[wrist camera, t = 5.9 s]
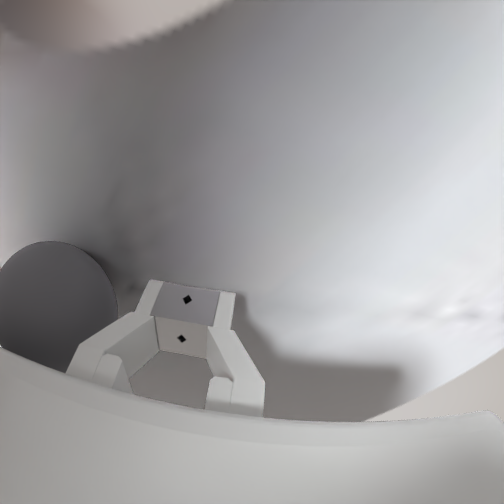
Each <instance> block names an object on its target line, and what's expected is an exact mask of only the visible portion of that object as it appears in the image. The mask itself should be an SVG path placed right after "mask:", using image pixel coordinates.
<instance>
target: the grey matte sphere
mask: <svg viewBox="0 0 504 504" xmlns="http://www.w3.org/2000/svg"><path fill="white" fill-rule="evenodd" d="M116 320H118V309H117V300H116V297H115V293H114V289H113V287H112V285H111V282H110V280H109V278H108V276H107V275H106V273H105V272H104V270H103V269H102V267H101V266H100V265H99V264H98V263H97V262H96V261H95V260H94V259H93V258H92V257H91V256H89V255H88V254H87V253H85V252H84V251H83V250H81V249H79V248H77V247H75V246H72V245H70V244H67V243H63V242H56V241H45V242H39V243H34V244H31V245H29V246H27V247H24V248H23V249H21V250H19V251H18V252H17V253H15V254H14V255H13V256H12V257H10V259H9V260H8V261H7V262H6V263H5V264H4V266H3V267H2V269H1V270H0V345H1V347H2V348H4V349H6V350H8V351H10V352H13V353H15V354H17V355H19V356H22V357H24V358H26V359H29V360H31V361H34V362H36V363H39V364H41V365H44V366H46V367H49V368H52V369H54V370H57V371H60V372H63V373H66V371H67V369H68V367H69V365H70V363H71V361H72V358H73V356H74V354H75V352H76V350H77V348H78V346H79V344H81V343H82V342H84V341H85V340H87V339H88V338H90V337H91V336H93V335H94V334H96V333H98V332H99V331H101V330H102V329H104V328H105V327H107V326H108V325H110V324H112V323H113V322H115V321H116Z"/></svg>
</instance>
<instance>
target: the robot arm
mask: <svg viewBox="0 0 504 504" xmlns="http://www.w3.org/2000/svg"><path fill="white" fill-rule="evenodd" d="M235 296H236V293H233V292H226V291H219V290H212V289H205V288H199V287H191V286H186V285H181V284H176V283H171V282H166V281H165V282H164V281H159V280H154V279H151V280H150V281H148V283H147V285H146V288H145V290H144V292H143V294H142V296H141V298H140V301H139V303H138V305H137V307H136V310H135V312H129V313H127V314H126V315H124V316H123V317H121V318H119V319H118V320H116V321H115V322H113V323H112V324H110V325H108V326H107V327H105V328H104V329H102V330H101V331H99V332H98V333H96V334H94V335H93V336H91V337H90V338H88V339H87V340H85V341H84V342H82V343H81V344H79V346H78V348H77V350H76V352H75V354H74V356H73V358H72V361H71V363H70V365H69V367H68V369H67V371H66V373H63V372H60V371H57V370H54V369H52V368H49V367H46V366H44V365H41V364H39V363H36V362H34V361H31V360H29V359H26V358H24V357H22V356H19V355H17V354H15V353H13V352H10V351H8V350H6V349H4V348H2V347H0V504H504V422H503V421H502V420H501V419H500V418H499V417H498V416H497V415H496V414H495V413H493V412H492V411H489V410H483V411H477V412H471V413H464V414H458V415H450V416H442V417H434V418H424V419H412V420H398V421H377V422H323V421H301V420H286V419H274V418H263V411H264V396H265V381H264V379H263V378H262V376H261V375H260V373H259V371H258V370H257V368H256V366H255V365H254V363H253V361H252V360H251V358H250V356H249V355H248V353H247V351H246V350H245V348H244V346H243V345H242V343H241V341H240V339H239V338H238V336H237V334H236V333H235V331H234V330H231V326H232V318H233V311H234V303H235ZM159 350H161V351H166V352H172V353H178V354H184V355H188V356H193V357H198V358H203V359H206V360H207V363H208V365H209V367H210V370H211V372H212V374H213V378H211V379H210V382H209V387H208V392H207V397H206V402H205V407H204V409H199V408H193V407H188V406H183V405H178V404H173V403H168V402H164V401H159V400H155V399H151V398H146V397H142V396H138V395H134V393H133V390H132V387H131V385H130V382H129V378H130V377H132V376H133V375H134V374H135V373H136V372H137V371H138V370H139V369H140V368H142V367H143V366H144V365H145V364H146V363H147V362H148V361H149V360H150V359H152V358H153V357H154V356H155V355H156V354H157V353H158V352H159Z"/></svg>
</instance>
